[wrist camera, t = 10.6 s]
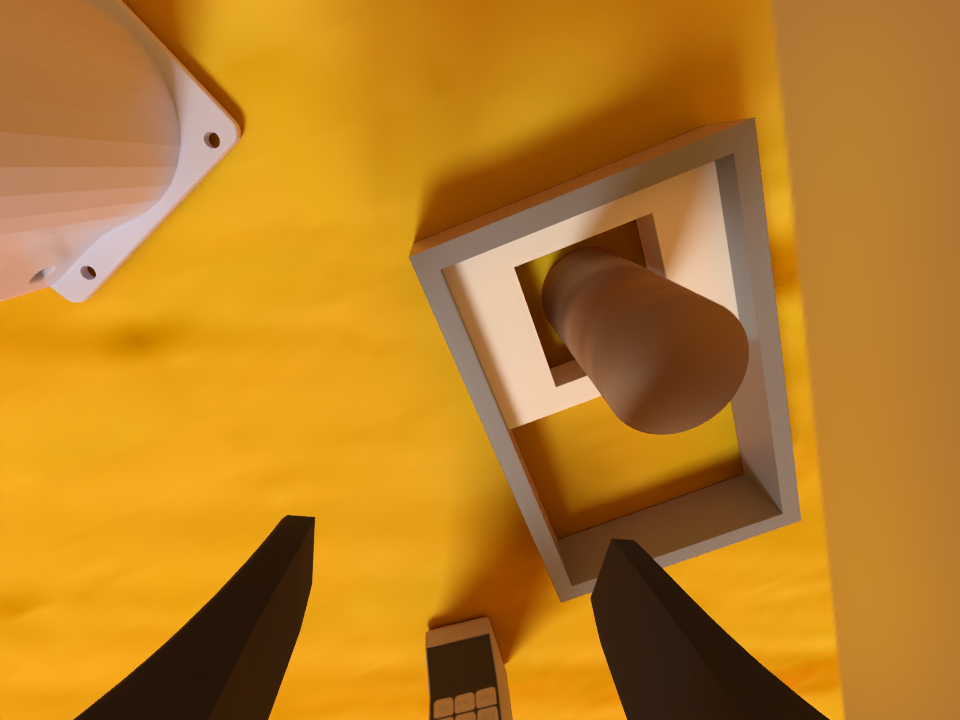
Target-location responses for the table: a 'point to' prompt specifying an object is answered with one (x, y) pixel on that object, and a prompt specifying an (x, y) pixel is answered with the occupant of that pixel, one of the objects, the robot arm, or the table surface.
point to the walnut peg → (645, 340)
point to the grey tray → (542, 391)
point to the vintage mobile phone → (466, 673)
